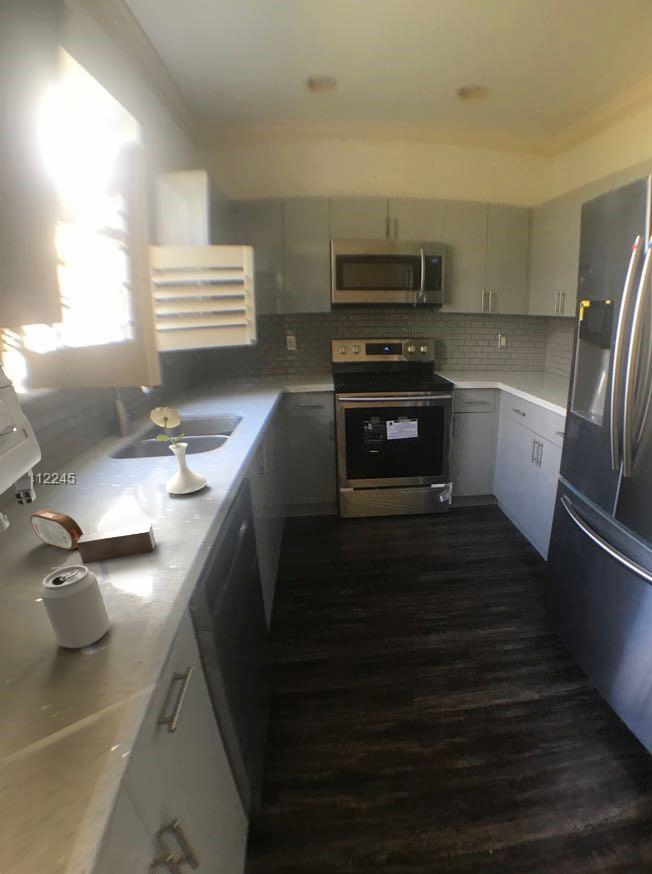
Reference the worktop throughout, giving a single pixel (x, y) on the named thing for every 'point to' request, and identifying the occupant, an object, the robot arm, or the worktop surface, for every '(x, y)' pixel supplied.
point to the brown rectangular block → (116, 543)
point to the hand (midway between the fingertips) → (14, 515)
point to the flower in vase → (177, 454)
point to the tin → (56, 529)
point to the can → (75, 606)
